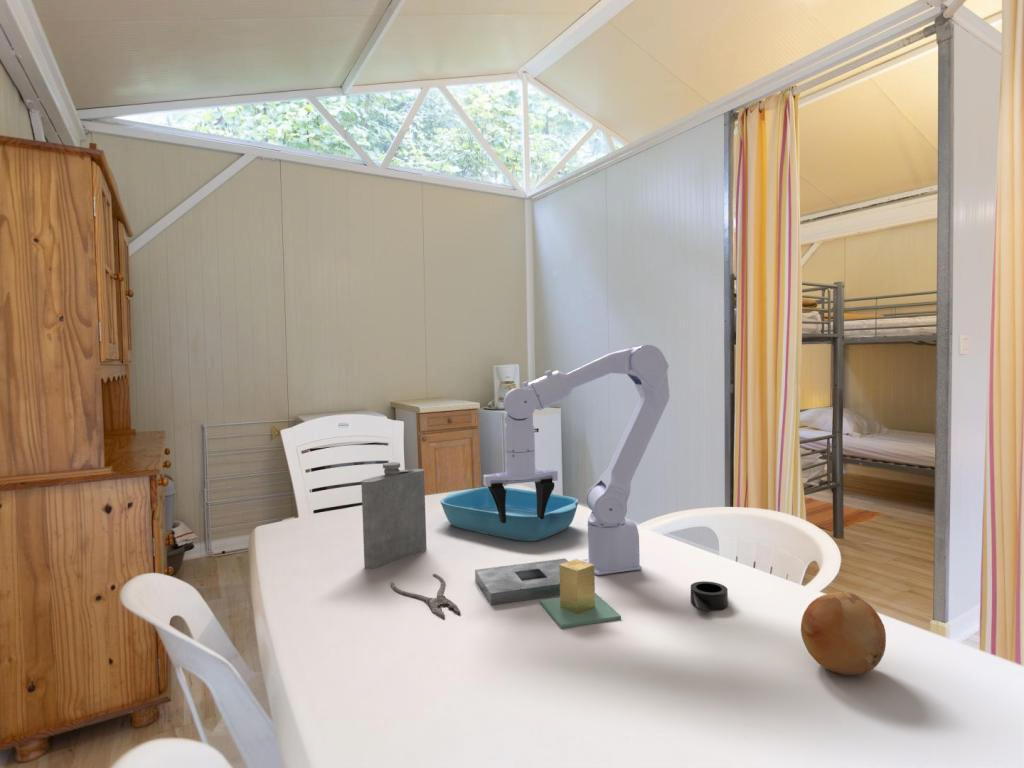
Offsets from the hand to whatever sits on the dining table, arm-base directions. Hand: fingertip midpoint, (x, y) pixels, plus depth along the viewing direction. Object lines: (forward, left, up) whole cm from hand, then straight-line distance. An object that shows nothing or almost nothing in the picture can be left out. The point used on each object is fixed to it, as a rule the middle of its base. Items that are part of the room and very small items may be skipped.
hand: (521, 519), depth 116 cm
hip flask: (+23, -17, -10) cm, 30 cm away
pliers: (+18, +6, -10) cm, 22 cm away
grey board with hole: (+1, +8, -10) cm, 13 cm away
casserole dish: (-6, -31, -10) cm, 33 cm away
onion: (-28, +49, -10) cm, 57 cm away
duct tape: (-24, +26, -10) cm, 37 cm away
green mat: (-3, +21, -10) cm, 23 cm away
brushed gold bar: (-3, +21, -9) cm, 23 cm away
